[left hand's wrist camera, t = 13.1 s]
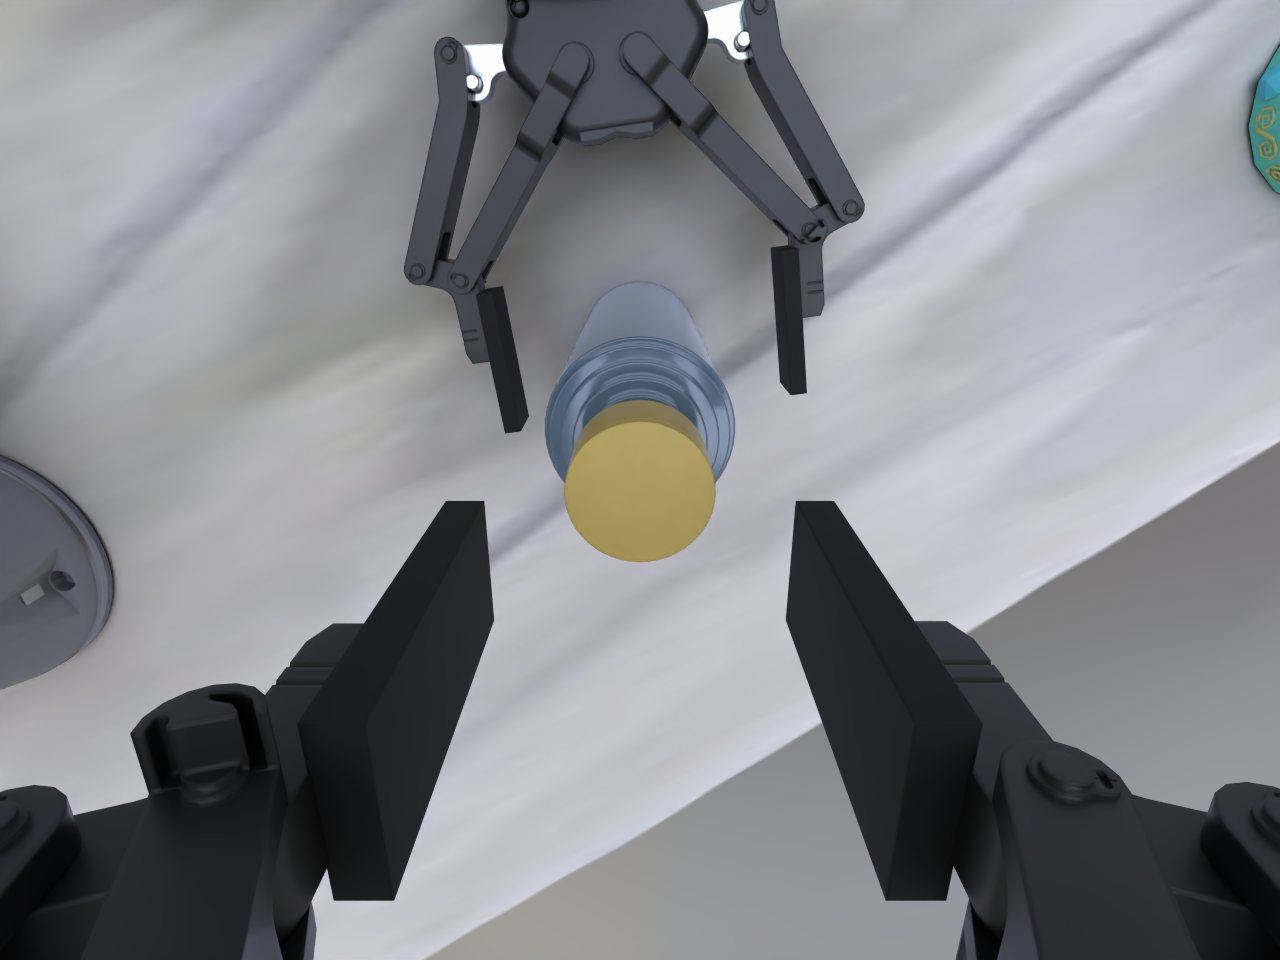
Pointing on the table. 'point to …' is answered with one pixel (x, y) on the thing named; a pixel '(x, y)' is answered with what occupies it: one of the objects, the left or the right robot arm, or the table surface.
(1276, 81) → the decorative hourglass
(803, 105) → the right robot arm
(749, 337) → the table surface
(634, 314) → the bottle
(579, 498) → the cap
